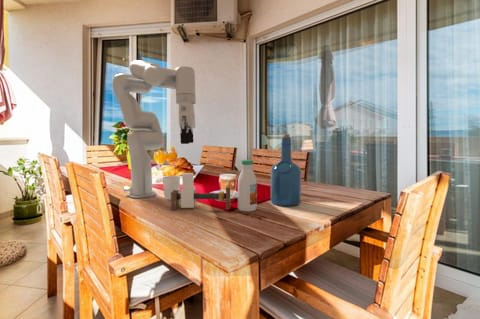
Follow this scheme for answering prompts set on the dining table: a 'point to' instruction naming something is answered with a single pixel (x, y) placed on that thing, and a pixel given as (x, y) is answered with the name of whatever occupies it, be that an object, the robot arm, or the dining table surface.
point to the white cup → (170, 185)
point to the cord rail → (201, 197)
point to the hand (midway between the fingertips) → (187, 143)
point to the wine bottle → (286, 178)
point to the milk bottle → (247, 187)
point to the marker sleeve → (187, 191)
